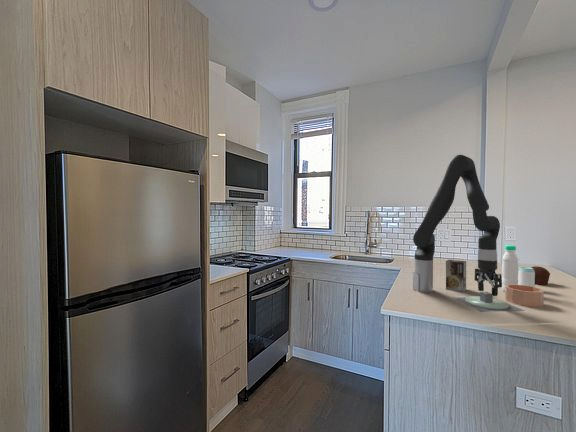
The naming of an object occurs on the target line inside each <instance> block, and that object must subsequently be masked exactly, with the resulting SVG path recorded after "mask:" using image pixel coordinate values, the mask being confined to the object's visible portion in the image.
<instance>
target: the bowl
mask: <svg viewBox="0 0 576 432" xmlns="http://www.w3.org/2000/svg"><path fill="white" fill-rule="evenodd" d="M544 298H545V290H543V289H542V288H540V287H536V286H535V287H532V286H526V285H517V284H508V285H505V291H504V299H505V300H504V301H505V302H507V303H508V302H509V303H511V304H514V305H519V306H522V307H523V306H526V307H532V308H533V307H534V308H535V307H536V308H537V307H539V308H540V307H544V306H545V305H544V304H545V302H544V301H545V299H544Z"/></svg>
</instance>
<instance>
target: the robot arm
mask: <svg viewBox="0 0 576 432" xmlns="http://www.w3.org/2000/svg"><path fill="white" fill-rule="evenodd" d="M460 179H462V181H463V182H464V185H465V189H466V190H465V191H466V199H467V201H468V203H469V206H470V208H471V210H472V220H473V224H474V225H473V226H474V227H475V228H476V229H477V230H479V232H483V235H481V236H479V237H478V241H477V243H478V245H477V246H478V247H477V249H478V250H477V268H474V282H475V281H476V282H477V286H478V287H477V288H478V289H477V290H478V291H479V292H485V290H484V289H485V288H484V287H485V285H484V284H485V281H486V282H488V284H490V286H491V294H492V296H493V297H497V296H498V295H499V292H498V290H499V288H502V273H497V272H496V271H497V270H498V250H497V239H498V236H499V234H500V233H499V232H500V228H501V223H500V222H501V221H500V220H499V218H497V216H494V215H488V214H487V211H488V210H489V209H490V205H489V202H488V200H487V198H486V196H485V194H484V190H483V189H482V186H481V183H480V181H479V177H478V174H477V170H476V164H475V161H474V160H473V159H472V158H471V157H468V156H467V155H464V154H457V155H455V156H453V157H451V159H450V161H449V163H448V166H447V168H446V170H445V173H444V176H443V178H442V180H441V183H440V184H439V187H438V188H437V191H436V193H435V195H434V196H433V198H432V201H431V202H430V205H429V206H428V208H427V211H426V213H425V215H424V218H423V220H422V222H421V223H420V225H419V227H418V228H417V230H416V231H415V232H414V234H413V236H412V241H413V244H414V245H415V246H416V251H415V253H414V271H413V272H412V290H414V291H416V292H420V293H421V292H422V293H432V292H434V290H433V289H434V255H435V249H436V247H435V246H436V245H435V244H436V243H435V242H436V238H435V234H434V232H435V230H436V228H437V226H438V225H439V224H440V223H441V222H442V221H443V219H444V218H445V216H446V215H447V214H448V213H449V211H450V209H451V207H452V205H453V204H454V199H455V195H456V189H457V184H458V182H459V180H460Z"/></svg>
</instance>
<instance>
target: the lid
mask: <svg viewBox="0 0 576 432" xmlns="http://www.w3.org/2000/svg"><path fill="white" fill-rule="evenodd" d="M494 298H495V297H494V296H492V292H489V291H479V296H478V295H474V296H466V298H465V302H466V303H468V304H470V305H473V306H476V307H480V308H485V309H493V310H504V309H508V308H509V303H508V301H505V300H502V299H497V298H495V299H494Z"/></svg>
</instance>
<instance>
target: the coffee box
mask: <svg viewBox="0 0 576 432" xmlns="http://www.w3.org/2000/svg"><path fill="white" fill-rule="evenodd" d="M445 290H448V291H459V292H465V291H467V261H466V260H457V259H447V260H445Z"/></svg>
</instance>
